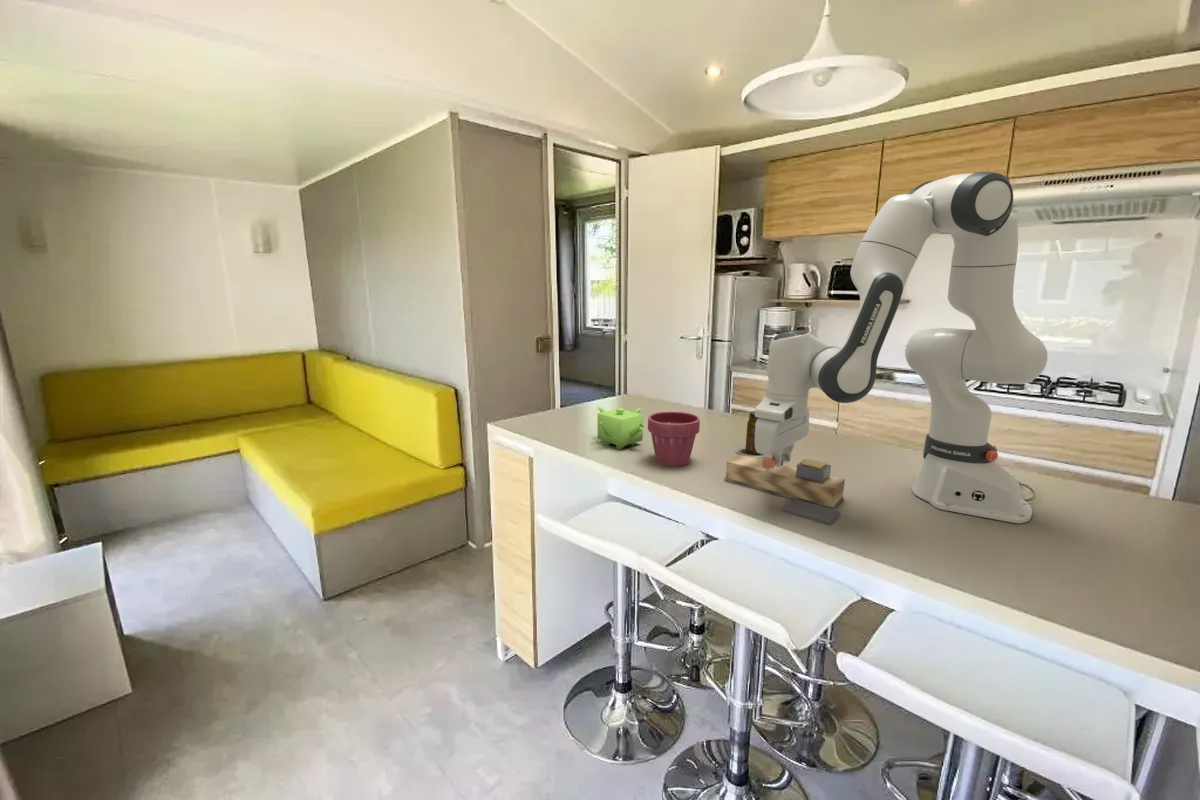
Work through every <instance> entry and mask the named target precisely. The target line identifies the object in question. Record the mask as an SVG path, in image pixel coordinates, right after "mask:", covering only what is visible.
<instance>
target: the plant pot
mask: <svg viewBox="0 0 1200 800" xmlns="http://www.w3.org/2000/svg"><path fill="white" fill-rule="evenodd" d="M700 419H701V418H700V417H699V416H698V415H695V414H694V413H689V412H685V411H684V412H682V411H659V412H655V413H651V414H650V415H649V416H648V417H647V430H648V432H649V433H650V434H651V436H650V437H651V440H652V446H653V452H654V455H655V460H656V462H657V463H658V464H660V465H662V466H666V467H682V466H686V465H688V464H689V463H690V459H691V455H692V451H693V447H694V444H695V439H696V436H697V434H698V433H699V432H700V430H701V429H700V427H701V426H700V425H701V423H700V421H701V420H700Z"/></svg>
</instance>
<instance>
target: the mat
mask: <svg viewBox="0 0 1200 800" xmlns="http://www.w3.org/2000/svg"><path fill="white" fill-rule="evenodd" d="M782 512H784V513H788V514H791V515H794V516H798V517H802V518H805V519H809V520H811V521H816V522H818V523H821V522H822V523H823V524H825V525H829V526H831V525H832V524H833V523H834V522H835V521H836V519H838V518H839V516H840V515H841V513H842V511H841V510H838V509H836V508H835V509H831V508H827V507H824V506H820V505H816V504H813V503H809V502H805V501H802V500H798V499H792V500H791V501H790V502H789V503H788V504H787V505H785V506H784V507H783V508H782ZM832 522H833V523H832Z"/></svg>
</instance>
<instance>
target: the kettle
mask: <svg viewBox="0 0 1200 800" xmlns="http://www.w3.org/2000/svg"><path fill="white" fill-rule="evenodd" d="M596 408H597V410H599V412H598V413H597V440H600V441H602V442H603V441H604V442H603V445H605V446H610V445H611V444H612V445H615V449H616V448H617V450H623V449H624V447H625V446H636V445H637V443H638V442H639V443H640V442H642V441H643V435H644V434H643V432H644V430H645V425H644V424H643V422H644V415H643V414H640V411H642V407H639V408H636V409H635V410H634V411H630V410H626V409H625V408H622V407H621V408H620V407H619V408H615V409H611V410H605V409H604V408H603V407H600V406H597V407H596ZM629 444H630V445H629ZM635 444H636V445H635ZM622 448H623V449H622Z"/></svg>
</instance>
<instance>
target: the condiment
mask: <svg viewBox="0 0 1200 800" xmlns="http://www.w3.org/2000/svg"><path fill="white" fill-rule="evenodd" d="M748 415H749V416H748V421H747V425H746V435H745V436H746V438H745V448H742V449H739V450H737V451H735V453H737V454H739V455H743V456H747V457H752V458H756V459H760V458H763V454H760V453H757V451H756V449H755V425H756V421H757V419H758V417H755V410H753V411H750V412H749V413H748Z"/></svg>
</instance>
